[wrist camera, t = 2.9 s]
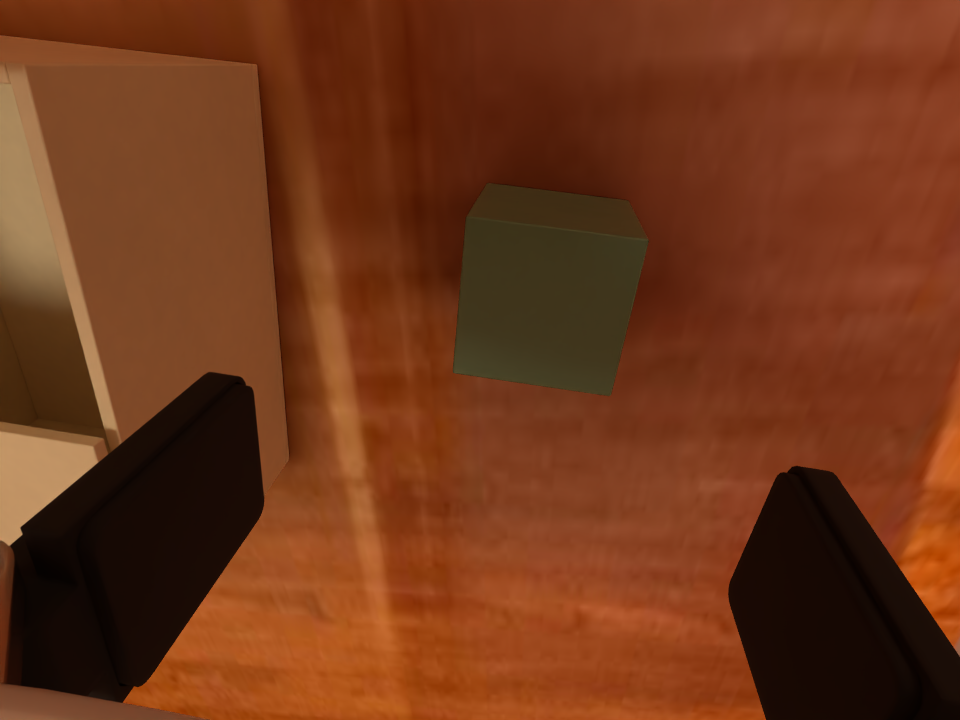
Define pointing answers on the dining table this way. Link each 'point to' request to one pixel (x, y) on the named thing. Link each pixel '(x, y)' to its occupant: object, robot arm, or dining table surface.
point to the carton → (126, 255)
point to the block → (547, 287)
